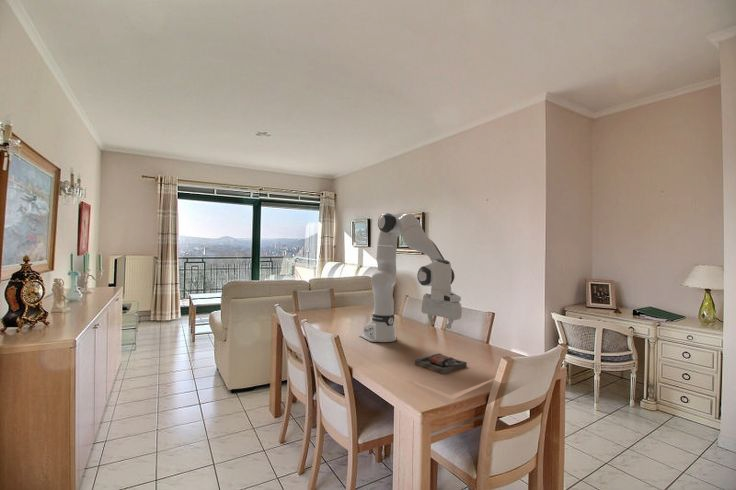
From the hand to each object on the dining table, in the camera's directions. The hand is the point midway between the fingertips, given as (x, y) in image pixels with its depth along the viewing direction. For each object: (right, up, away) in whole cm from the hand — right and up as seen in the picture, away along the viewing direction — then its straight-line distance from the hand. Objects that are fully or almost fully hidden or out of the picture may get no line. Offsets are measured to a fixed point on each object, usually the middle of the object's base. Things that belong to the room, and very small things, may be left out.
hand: (440, 326), depth 157 cm
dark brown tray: (0, -17, 0) cm, 17 cm away
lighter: (-2, -15, +2) cm, 15 cm away
